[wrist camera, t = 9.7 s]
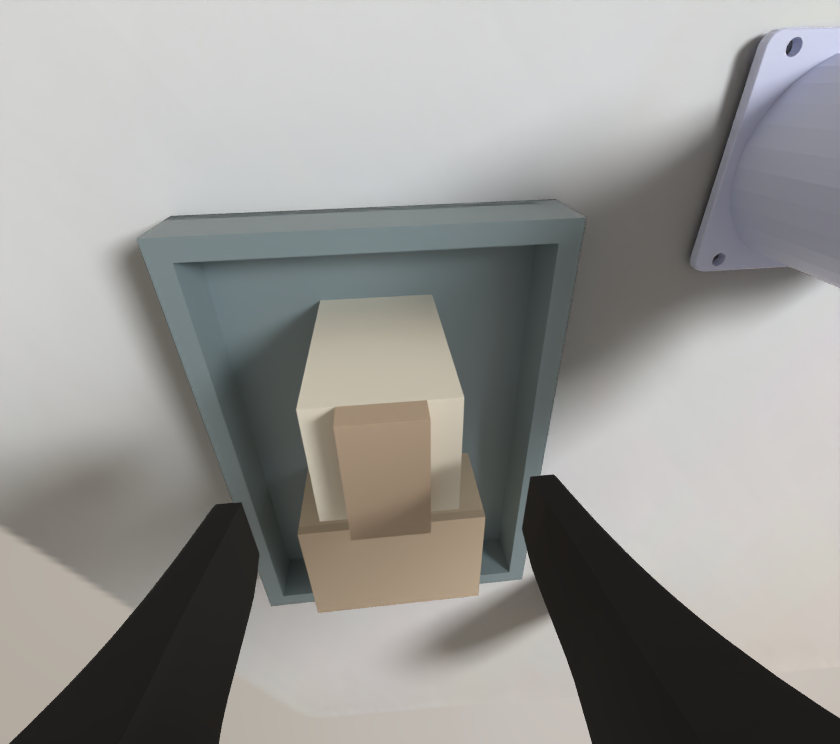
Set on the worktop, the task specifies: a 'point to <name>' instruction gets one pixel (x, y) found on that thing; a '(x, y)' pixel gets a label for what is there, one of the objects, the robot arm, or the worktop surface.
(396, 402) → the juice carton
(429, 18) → the worktop surface
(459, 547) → the tan stepped block
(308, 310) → the tray
